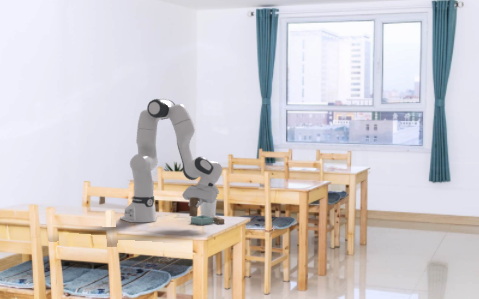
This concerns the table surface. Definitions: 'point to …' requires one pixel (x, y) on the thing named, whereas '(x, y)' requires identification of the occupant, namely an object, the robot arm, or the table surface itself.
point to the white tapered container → (208, 209)
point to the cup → (202, 220)
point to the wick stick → (193, 206)
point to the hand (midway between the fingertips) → (193, 206)
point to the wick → (218, 220)
